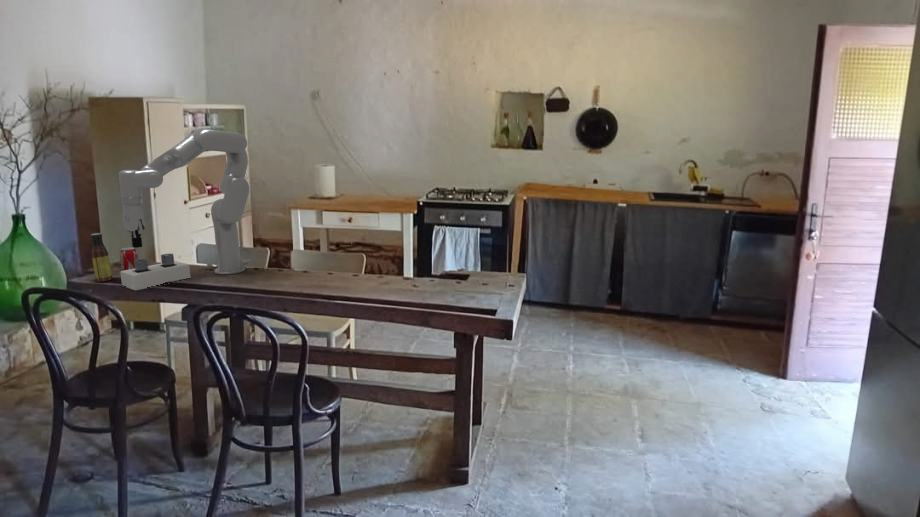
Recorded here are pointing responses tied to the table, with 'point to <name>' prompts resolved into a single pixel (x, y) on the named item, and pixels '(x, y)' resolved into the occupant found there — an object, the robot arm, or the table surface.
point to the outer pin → (141, 265)
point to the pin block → (154, 275)
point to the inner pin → (167, 260)
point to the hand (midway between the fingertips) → (137, 247)
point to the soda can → (128, 258)
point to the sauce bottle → (100, 259)
